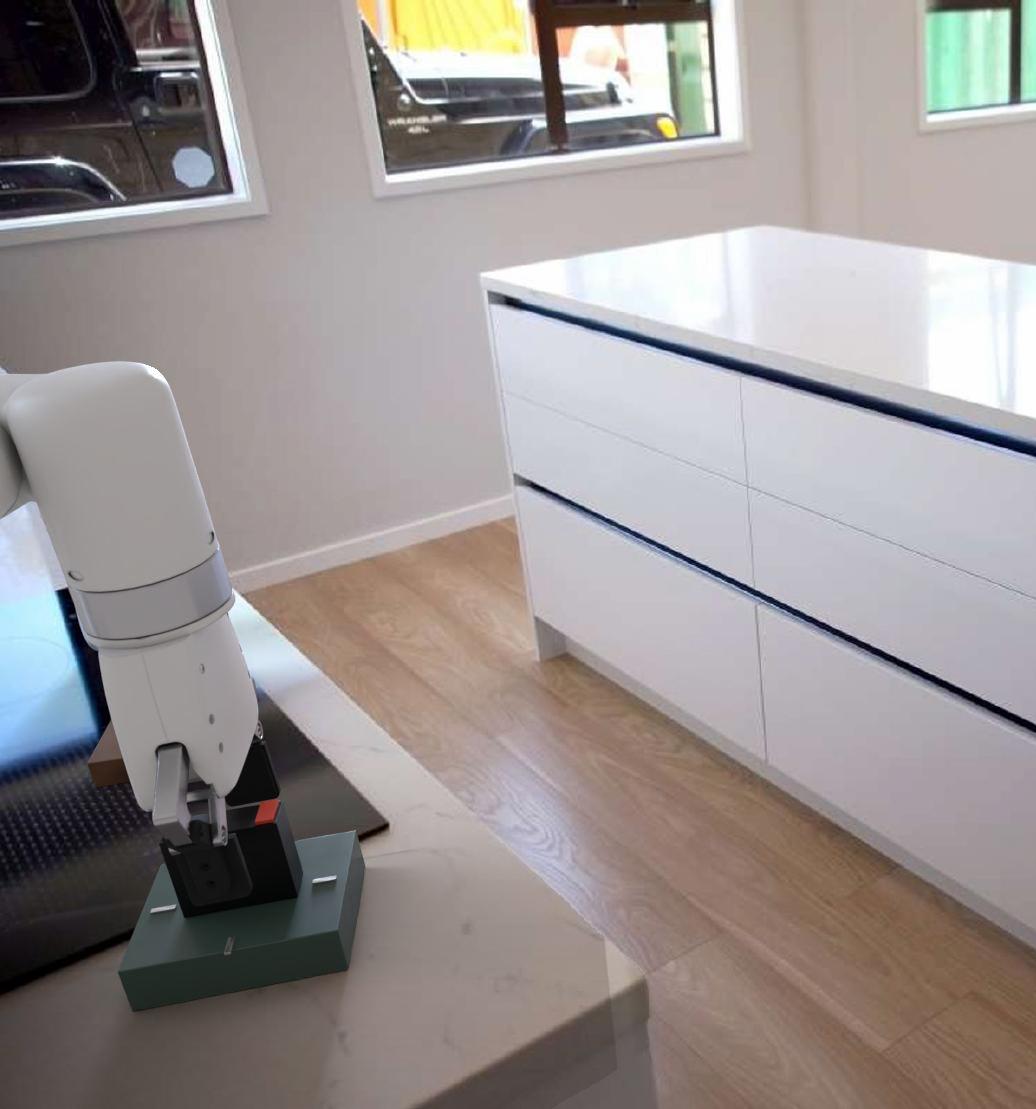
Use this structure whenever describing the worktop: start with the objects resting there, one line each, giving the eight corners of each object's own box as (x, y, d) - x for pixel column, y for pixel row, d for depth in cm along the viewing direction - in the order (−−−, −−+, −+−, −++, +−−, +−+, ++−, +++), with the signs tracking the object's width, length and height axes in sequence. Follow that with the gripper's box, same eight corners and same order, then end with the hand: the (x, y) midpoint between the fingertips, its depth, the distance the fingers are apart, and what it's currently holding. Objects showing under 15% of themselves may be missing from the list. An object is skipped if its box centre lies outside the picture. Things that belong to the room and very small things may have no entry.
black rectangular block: (183, 918, 75) (157, 840, 73) (192, 892, 78) (167, 816, 75) (297, 897, 77) (275, 819, 74) (303, 872, 79) (282, 796, 76)
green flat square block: (130, 1016, 72) (114, 974, 71) (174, 897, 82) (161, 858, 81) (348, 973, 75) (336, 932, 73) (366, 863, 84) (356, 824, 83)
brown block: (95, 788, 94) (79, 742, 93) (131, 719, 103) (116, 677, 102) (237, 764, 96) (223, 720, 94) (260, 699, 105) (248, 657, 103)
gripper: (124, 542, 76) (205, 779, 83) (25, 681, 60) (135, 958, 67) (255, 522, 77) (324, 757, 84) (192, 654, 62) (282, 927, 69)
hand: (240, 846), depth 76 cm, fingers open, 9 cm apart
